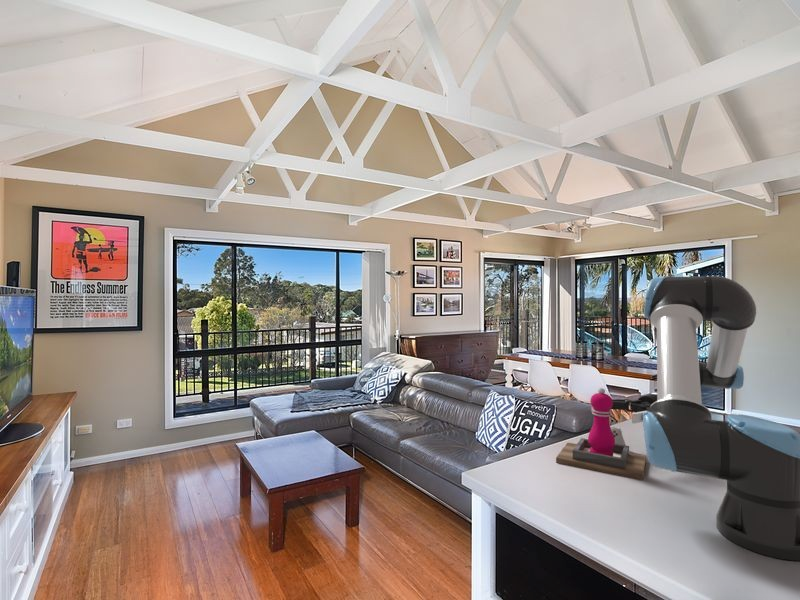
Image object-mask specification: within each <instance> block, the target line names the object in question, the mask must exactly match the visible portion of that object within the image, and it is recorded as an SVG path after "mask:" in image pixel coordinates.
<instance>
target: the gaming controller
mask: <svg viewBox="0 0 800 600" xmlns="http://www.w3.org/2000/svg"><path fill="white" fill-rule="evenodd" d="M610 428H611V431H612V433H613V435H614V438H615V444H620V445H626V442H625V439H624V436H623V432H622V429H621V427H620V426H618V427H616V426H610Z"/></svg>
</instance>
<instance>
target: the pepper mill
mask: <svg viewBox="0 0 800 600" xmlns="http://www.w3.org/2000/svg"><path fill="white" fill-rule="evenodd" d="M605 392H606V390H605V388H603V387H600V388H598V392H596V393H594V394H592V395H591V397H590V405H592V407H593V408H594V409H592V411H593V412H591V414H592V415H593V423H592V427H591V429H590V430H589V432H588V436H587V439H588V442H589V444H590V445H591V446H592V447H591V448H590V452H592V453H597V454H603V455H608V456H613V451H612V450H611V449H612V448H613V447H614V446H615V438H614V435H613V433H612V431H611V428H610V427H611V425H610V417H612V416H611V415H612V411H611V410H612V409H611V408H612V406H613V401H612V397H611V396H610V395H609V394H607V393H605Z"/></svg>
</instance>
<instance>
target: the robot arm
mask: <svg viewBox="0 0 800 600" xmlns="http://www.w3.org/2000/svg"><path fill="white" fill-rule="evenodd" d="M643 313H644V318H646V319H647V320H650V323H651V325H652V326H653V327H654V328H655V329H656V364H657V365H656V369H657V370H656V372H657V373H656V380H657V381H656V382H657V383H656V384H657V385H656V387H657V388H656V389H657V390H656V392H653V393H646V394H642V395H641V396H639V397H638V399H634V400H633V399H632V400H631V399H630V400H629V398H621V399H620V398H616V399H615V398H613V399H612V401H613V406H612V408H611V409H610V410H617V411H618V410H619V411H626V412H628V413H631V424H638V423H642V427H643V432H644V434H643V435H644V442H645V449H646V455H647V456H646V457H647V459H648V461H649V463H650V464H651V465H652V466H653V467H655V468H659V469H663V470H666V471H667V470H668V471H670V472H673V473H676V472H677V473H682V474H689V475H696V476H701V477H707V478H713V479H719V480H725V481H726V493H725V494H724V497H723V499H722V502H721V504H720V506H719V508H718V510H717V513H716V519H715V520H716V525H715V526H716V529H717V531H718V532H719V533H720V535H722V536H724V538H726V539H727V540H729V541H731V542H733V543H734V544H735V545H739V546H741V547H742V548H744V549H747V550H749V551H753V552H755V553H758V554H761V555H765V556H768V557H772V558H776V559H781V560H788V561H798V562H799V561H800V433H799V432H797V431H796V430H795V429H793V428H791V427H790V426H787V425H784V424H781V423H779V422H775V421H773V420H768V419H764V418H760V417H756V416H751V415H746V414H736V413H731V414H728V415H727V416H726V418H725V420H724V421H723V420H715V419H713V418H712V413H711V410H710V409H709V408H708V407H706V406H705V405H704V404H703V402H702V389H701V387H709V388H719V389H726V390H729V389H731V390H732V389H738V390H739V389H741V388H743V386H744V381H745V375H744V374H745V373H744V369H743V367H742V366H741V365H739V363H740V358H741V355H742V351H743V346H744V344H745V339H746V335H747V331H748V329H749V328H751V327H752V325H753V324H754V322H755V319H756V315H757V306H756V302H755V301H754V298H753V297H752V295H751V293H750V292H749V291H748V290H747V289H746V288H745V287H744V286H743V285H741V284H740V283H739V282H737V281H735V280H733V279H730V278H728V277H724V276H718V275H709V276H708V275H707V276H706V275H705V276H704V275H703V276H700V275H699V276H669V275H668V276H662V277H654V278H652V279H650V280H649V281H648V283H647V286H646V291H645V301H644V312H643ZM703 321H711V322H712V330H711V335H710V341H709V348H708V355H707V360H706V361H707V362H700V360H699V359H700V358H699V348H698V335H697V333H698V332H697V329H698V328H699V327H700V326H701V325H702V324H703ZM590 405H591V404H590ZM592 409H594V408H593V407H592V405H591V407H590V410H591V411H590V412H591V413H592V412H593V411H592Z"/></svg>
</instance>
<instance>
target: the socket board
mask: <svg viewBox="0 0 800 600" xmlns="http://www.w3.org/2000/svg"><path fill="white" fill-rule="evenodd" d="M591 447H592V446H591V445H590V444H589V442H588V438H583V437H581V438H580V439H579V440H578V441H577V443H573V442H567V443H565V445H564V446H563V448H562V449H561V451H560V452H559V453H558V454H557V456H555V462H556V463H557V464H562V465H567V466H572V467H577V468H581V469H586V468H587V470H591V469H592V470H591V471H597V472H602V473H606V474H612V475H617V476H621V477H627V478H632V479H637V480H641V481H643V479H644V474H645V469H646V462H647V456H646V455H642V454H636V453H630V445H626V444H625V445H620V444H615V446H614V447H613V448H612V449H611V450H612V451H613V456H608V455H603V454H597V453H592V452H590V448H591Z"/></svg>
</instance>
